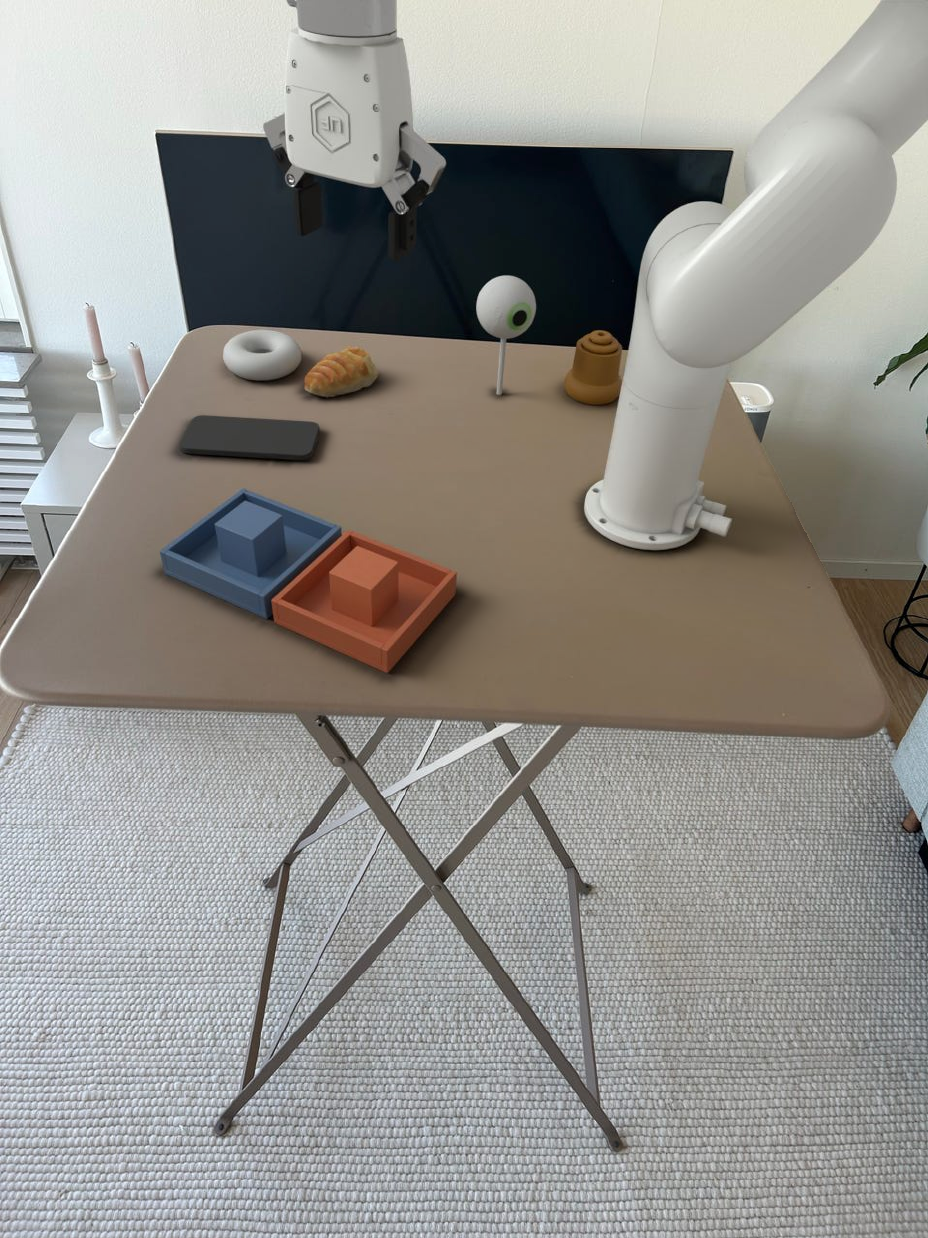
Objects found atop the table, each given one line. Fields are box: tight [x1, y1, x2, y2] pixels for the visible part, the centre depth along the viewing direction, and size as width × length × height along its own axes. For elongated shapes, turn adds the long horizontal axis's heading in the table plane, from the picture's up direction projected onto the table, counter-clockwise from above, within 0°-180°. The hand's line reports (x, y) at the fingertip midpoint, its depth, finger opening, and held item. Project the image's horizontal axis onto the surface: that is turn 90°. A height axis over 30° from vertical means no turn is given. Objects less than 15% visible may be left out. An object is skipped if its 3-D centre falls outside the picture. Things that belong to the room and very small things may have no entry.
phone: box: [179, 414, 320, 461], centre depth 102 cm, size 7×1×15 cm
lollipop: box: [475, 275, 537, 396], centre depth 108 cm, size 7×7×15 cm
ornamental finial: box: [563, 329, 623, 406], centre depth 112 cm, size 8×8×8 cm
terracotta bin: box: [271, 529, 458, 674], centre depth 81 cm, size 12×12×3 cm
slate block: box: [215, 501, 286, 577], centre depth 85 cm, size 4×4×4 cm
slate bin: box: [159, 487, 343, 620], centre depth 86 cm, size 12×12×3 cm
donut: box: [222, 329, 302, 381], centre depth 114 cm, size 10×4×10 cm
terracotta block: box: [329, 546, 398, 627], centre depth 80 cm, size 4×4×4 cm
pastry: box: [304, 345, 379, 398], centre depth 111 cm, size 9×7×4 cm
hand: (354, 243), depth 78 cm, fingers open, 9 cm apart
